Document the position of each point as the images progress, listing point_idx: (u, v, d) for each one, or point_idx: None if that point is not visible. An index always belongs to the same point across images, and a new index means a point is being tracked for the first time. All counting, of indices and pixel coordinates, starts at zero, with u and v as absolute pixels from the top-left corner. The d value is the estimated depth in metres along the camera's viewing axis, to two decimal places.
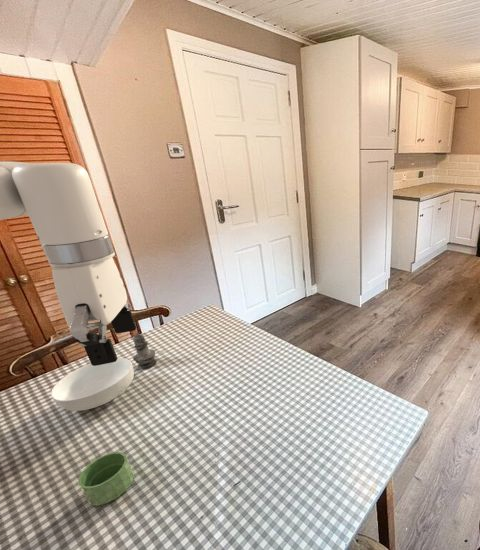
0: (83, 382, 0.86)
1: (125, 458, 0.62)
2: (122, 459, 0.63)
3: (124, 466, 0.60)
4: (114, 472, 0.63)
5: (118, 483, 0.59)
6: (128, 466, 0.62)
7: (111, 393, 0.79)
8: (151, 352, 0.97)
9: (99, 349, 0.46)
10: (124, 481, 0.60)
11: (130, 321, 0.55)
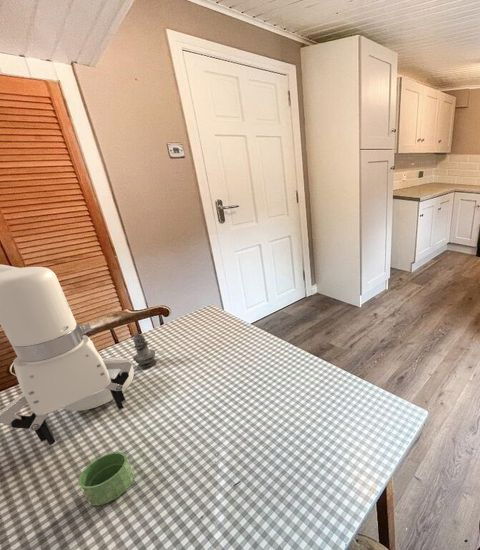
0: None
1: (125, 458, 0.62)
2: (122, 459, 0.63)
3: (124, 466, 0.60)
4: (114, 472, 0.63)
5: (118, 483, 0.59)
6: (128, 466, 0.62)
7: None
8: (151, 352, 0.97)
9: None
10: (124, 481, 0.60)
11: (116, 401, 0.57)
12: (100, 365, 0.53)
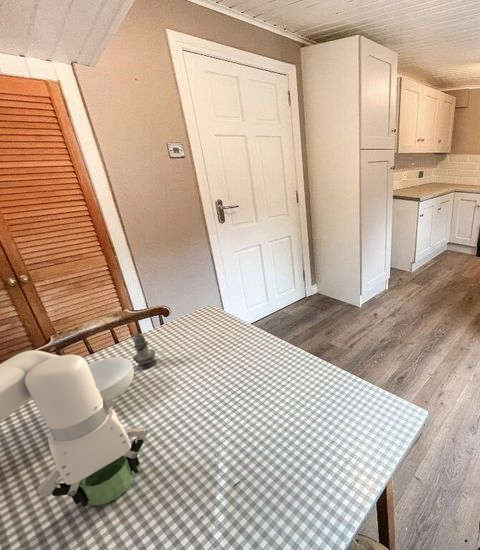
0: None
1: (125, 458, 0.62)
2: (122, 459, 0.63)
3: (124, 466, 0.60)
4: (114, 472, 0.64)
5: (118, 483, 0.59)
6: (128, 466, 0.62)
7: (111, 393, 0.79)
8: (151, 352, 0.97)
9: None
10: (124, 481, 0.60)
11: (132, 467, 0.63)
12: (122, 434, 0.59)
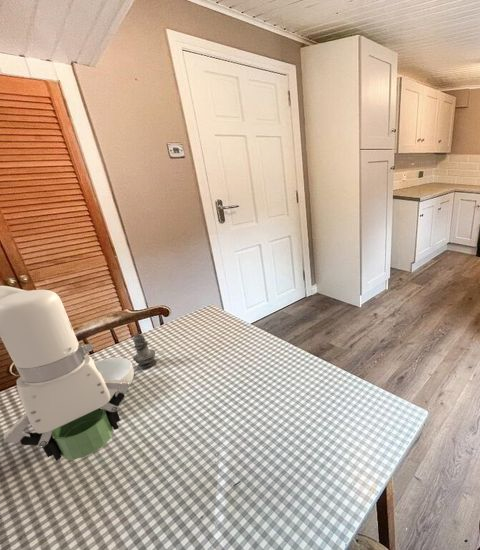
0: None
1: (104, 411, 0.57)
2: (101, 414, 0.59)
3: (102, 419, 0.56)
4: None
5: (95, 436, 0.55)
6: (107, 420, 0.57)
7: (111, 393, 0.79)
8: (151, 352, 0.97)
9: None
10: (102, 435, 0.56)
11: (111, 422, 0.58)
12: (100, 384, 0.55)
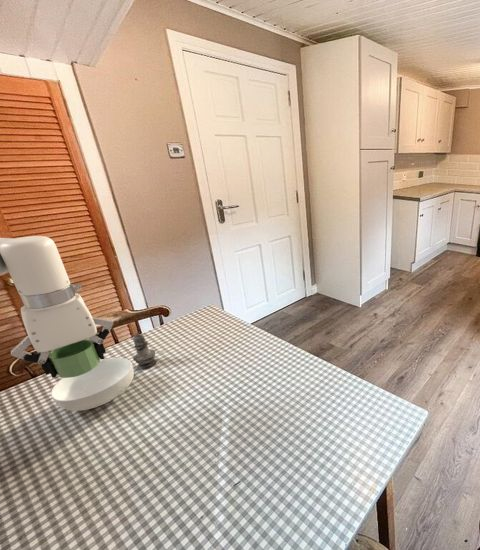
0: (83, 382, 0.86)
1: (92, 343, 0.69)
2: None
3: (90, 347, 0.68)
4: None
5: (84, 360, 0.67)
6: (94, 350, 0.70)
7: (111, 393, 0.79)
8: (151, 352, 0.97)
9: None
10: (90, 361, 0.68)
11: (98, 352, 0.70)
12: (88, 317, 0.67)
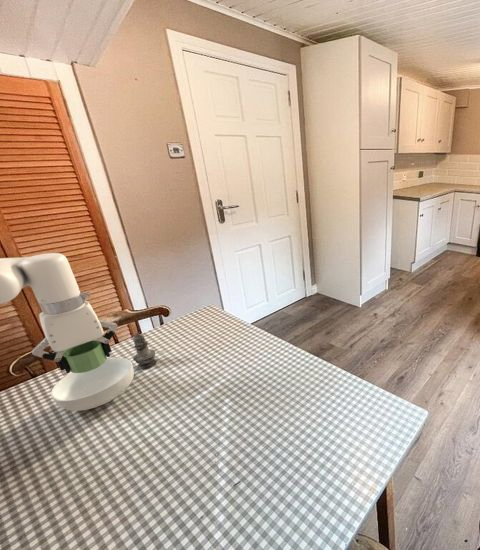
0: (83, 382, 0.86)
1: (99, 343, 0.81)
2: (98, 346, 0.82)
3: (98, 347, 0.79)
4: None
5: (93, 358, 0.78)
6: (101, 349, 0.81)
7: (111, 393, 0.79)
8: (151, 352, 0.97)
9: None
10: (98, 358, 0.79)
11: (104, 351, 0.82)
12: (96, 321, 0.78)
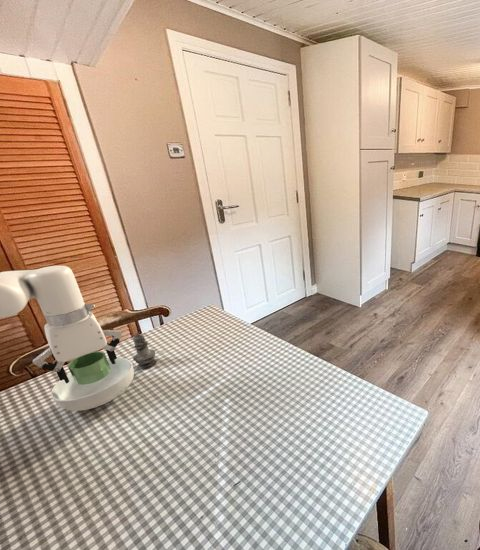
0: None
1: (104, 354, 0.82)
2: (102, 357, 0.84)
3: (103, 358, 0.81)
4: None
5: (98, 369, 0.79)
6: (106, 360, 0.82)
7: (111, 393, 0.79)
8: (151, 352, 0.97)
9: (57, 373, 0.76)
10: (103, 369, 0.81)
11: (110, 358, 0.83)
12: (100, 332, 0.79)
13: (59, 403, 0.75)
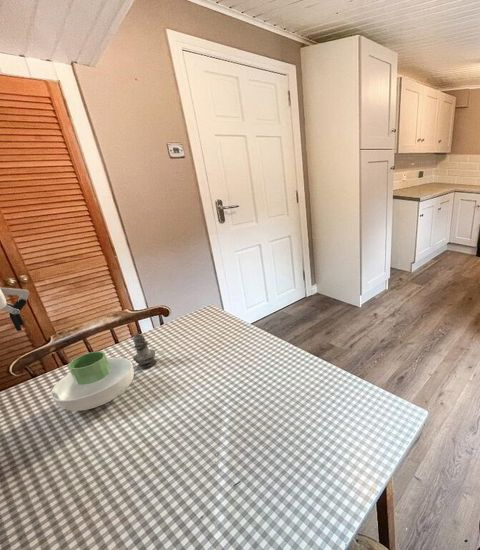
0: None
1: (104, 354, 0.82)
2: (102, 357, 0.84)
3: (103, 358, 0.81)
4: None
5: (98, 369, 0.79)
6: (106, 360, 0.82)
7: (111, 393, 0.79)
8: (151, 352, 0.97)
9: None
10: (103, 369, 0.81)
11: (13, 323, 0.67)
12: None
13: (59, 403, 0.75)
